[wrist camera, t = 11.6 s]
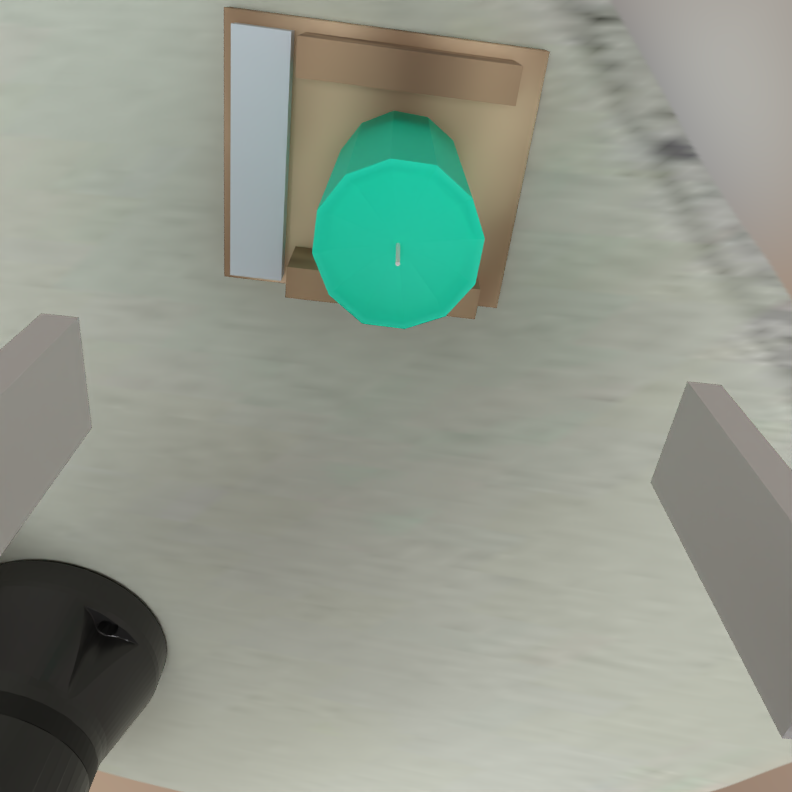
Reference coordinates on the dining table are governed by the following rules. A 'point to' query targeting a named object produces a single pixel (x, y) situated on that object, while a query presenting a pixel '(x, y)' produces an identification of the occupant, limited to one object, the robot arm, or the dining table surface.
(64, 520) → the dining table surface
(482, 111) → the jig
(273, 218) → the wing slat
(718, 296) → the dining table surface
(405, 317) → the candle
